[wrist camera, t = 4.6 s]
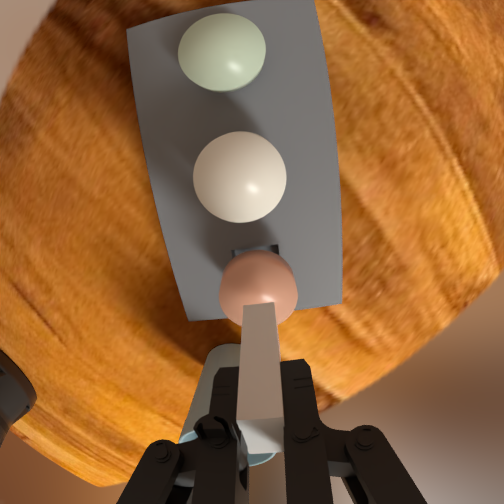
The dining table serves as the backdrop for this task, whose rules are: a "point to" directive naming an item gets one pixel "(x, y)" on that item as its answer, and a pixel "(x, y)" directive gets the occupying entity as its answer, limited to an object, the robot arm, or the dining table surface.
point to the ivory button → (239, 177)
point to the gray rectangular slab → (250, 120)
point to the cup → (201, 402)
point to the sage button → (222, 52)
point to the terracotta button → (257, 284)
